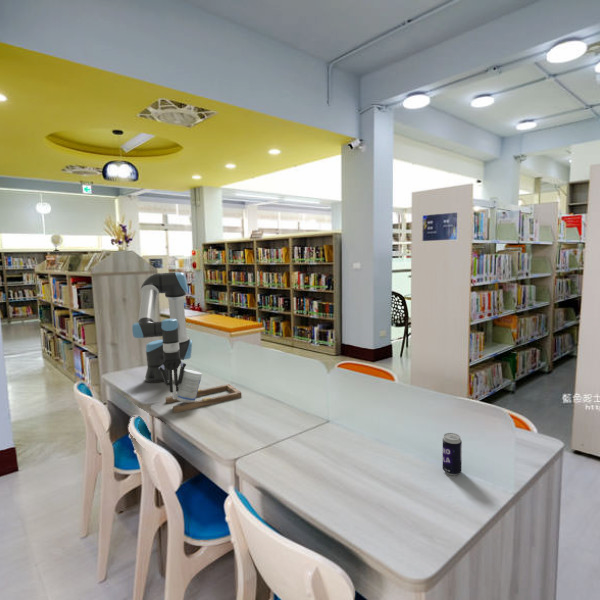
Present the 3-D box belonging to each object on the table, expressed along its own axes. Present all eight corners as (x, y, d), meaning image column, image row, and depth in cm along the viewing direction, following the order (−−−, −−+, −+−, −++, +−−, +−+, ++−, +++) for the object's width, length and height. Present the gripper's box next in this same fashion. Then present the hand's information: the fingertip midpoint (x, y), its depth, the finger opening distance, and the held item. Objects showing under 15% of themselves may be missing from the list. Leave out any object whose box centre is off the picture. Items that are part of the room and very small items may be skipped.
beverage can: (446, 465, 131) (446, 430, 130) (463, 470, 128) (464, 435, 127) (439, 472, 127) (439, 437, 126) (458, 478, 124) (458, 442, 122)
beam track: (165, 402, 200) (165, 396, 200) (229, 388, 218) (228, 382, 218) (174, 412, 186) (174, 406, 186) (241, 396, 204) (241, 391, 203)
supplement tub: (197, 404, 197) (206, 375, 198) (181, 402, 190) (189, 372, 191) (188, 398, 203) (196, 370, 205) (171, 397, 197) (180, 368, 198)
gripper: (159, 354, 185) (162, 403, 187) (186, 350, 191) (189, 397, 194) (155, 351, 191) (159, 398, 194) (182, 347, 198) (185, 393, 200)
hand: (174, 398), depth 194 cm, fingers closed
